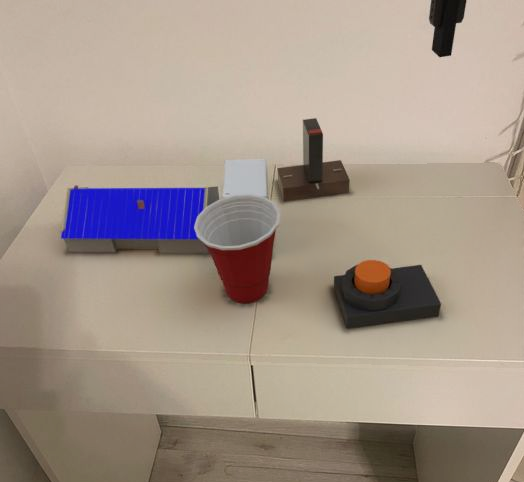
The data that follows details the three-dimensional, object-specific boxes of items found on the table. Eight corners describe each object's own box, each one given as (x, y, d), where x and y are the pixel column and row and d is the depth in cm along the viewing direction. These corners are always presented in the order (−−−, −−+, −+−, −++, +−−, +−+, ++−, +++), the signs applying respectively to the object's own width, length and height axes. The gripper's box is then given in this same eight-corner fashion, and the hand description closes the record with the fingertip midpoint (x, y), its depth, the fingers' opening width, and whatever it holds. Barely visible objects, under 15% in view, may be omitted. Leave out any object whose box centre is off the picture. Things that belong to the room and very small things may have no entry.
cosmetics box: (271, 257, 81) (267, 195, 73) (228, 260, 82) (219, 198, 74) (270, 217, 88) (266, 155, 81) (230, 219, 89) (222, 158, 81)
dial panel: (338, 168, 97) (338, 154, 95) (351, 198, 90) (352, 183, 88) (276, 176, 97) (275, 162, 95) (284, 206, 90) (284, 192, 88)
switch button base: (419, 276, 76) (423, 253, 73) (438, 316, 71) (444, 293, 68) (333, 288, 76) (334, 265, 73) (346, 329, 70) (348, 306, 67)
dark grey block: (303, 165, 93) (302, 118, 87) (316, 164, 93) (316, 116, 87) (309, 182, 90) (308, 134, 84) (322, 181, 90) (323, 132, 84)
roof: (67, 255, 85) (50, 214, 80) (94, 204, 94) (81, 164, 89) (207, 256, 82) (199, 214, 77) (221, 204, 92) (215, 163, 86)
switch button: (383, 270, 72) (385, 257, 71) (393, 292, 69) (395, 279, 68) (350, 274, 72) (351, 262, 70) (358, 296, 69) (359, 284, 67)
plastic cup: (194, 282, 79) (179, 209, 70) (262, 256, 82) (255, 184, 73) (226, 328, 72) (214, 254, 63) (298, 299, 75) (296, 224, 66)
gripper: (426, -205, 49) (400, 71, 66) (567, -224, 50) (504, 55, 67) (399, -208, 54) (381, 49, 72) (527, -225, 55) (478, 35, 72)
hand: (441, 52), depth 69 cm, fingers closed
